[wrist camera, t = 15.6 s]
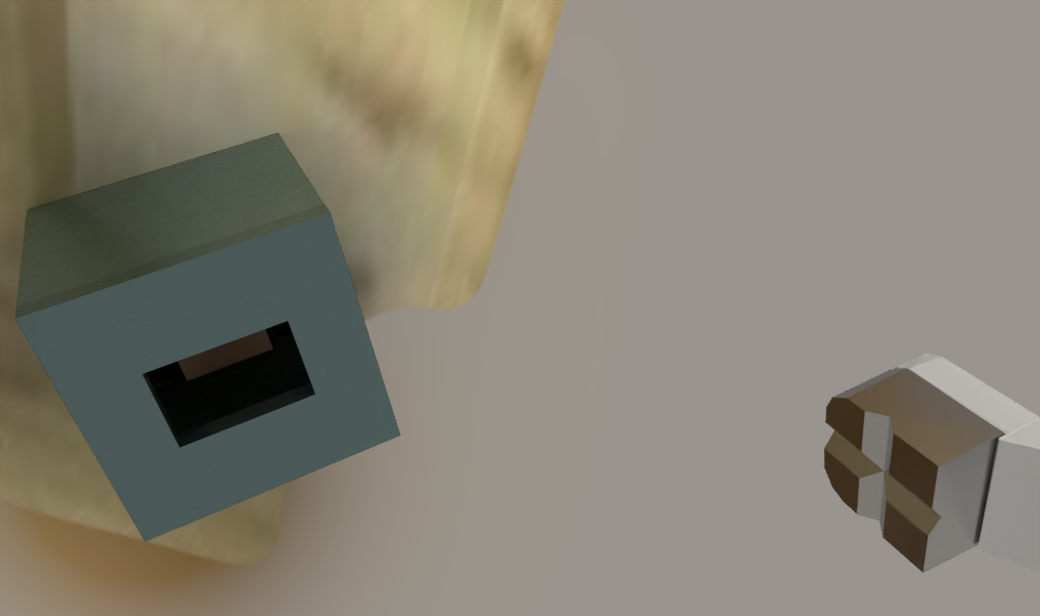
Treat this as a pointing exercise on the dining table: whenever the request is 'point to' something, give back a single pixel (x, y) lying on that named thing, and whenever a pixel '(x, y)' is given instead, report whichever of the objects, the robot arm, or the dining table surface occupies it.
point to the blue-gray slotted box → (202, 331)
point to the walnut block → (225, 354)
